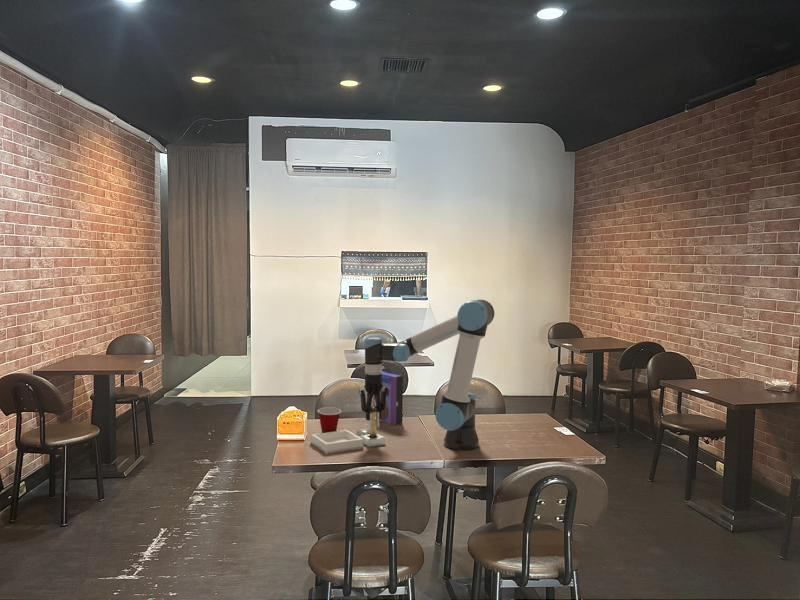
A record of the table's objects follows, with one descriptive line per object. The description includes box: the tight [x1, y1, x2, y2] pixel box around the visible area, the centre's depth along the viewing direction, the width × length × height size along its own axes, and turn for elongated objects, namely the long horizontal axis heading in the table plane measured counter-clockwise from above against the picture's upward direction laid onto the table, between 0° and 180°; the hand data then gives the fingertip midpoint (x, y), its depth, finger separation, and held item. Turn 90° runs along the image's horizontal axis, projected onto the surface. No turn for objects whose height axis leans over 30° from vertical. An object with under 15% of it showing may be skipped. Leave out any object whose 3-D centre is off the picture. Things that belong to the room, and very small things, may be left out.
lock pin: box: [369, 405, 378, 438], centre depth 268 cm, size 4×4×14 cm
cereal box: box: [372, 371, 404, 426], centre depth 308 cm, size 17×5×24 cm, turn 40°
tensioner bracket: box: [355, 428, 386, 448], centre depth 272 cm, size 16×8×4 cm, turn 30°
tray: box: [310, 429, 364, 455], centre depth 264 cm, size 17×17×4 cm
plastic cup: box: [317, 406, 342, 433], centre depth 280 cm, size 11×11×12 cm
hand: (373, 426), depth 268 cm, fingers closed on lock pin, 3 cm apart
